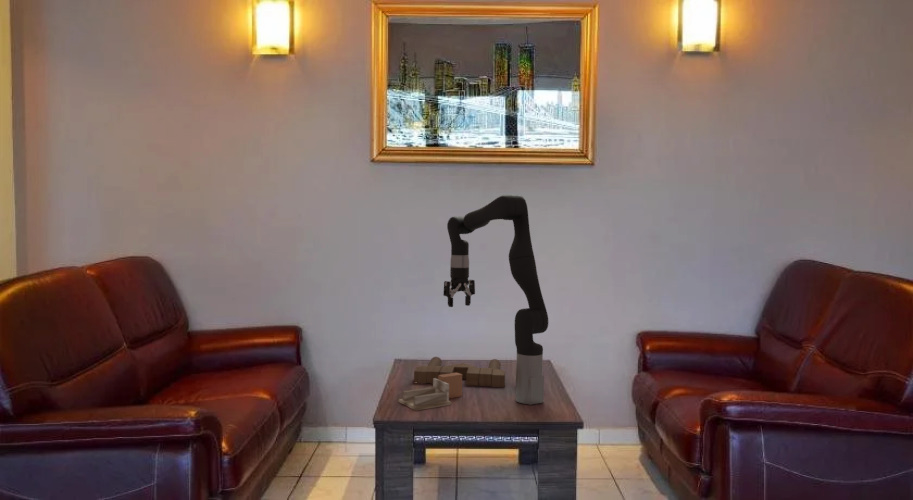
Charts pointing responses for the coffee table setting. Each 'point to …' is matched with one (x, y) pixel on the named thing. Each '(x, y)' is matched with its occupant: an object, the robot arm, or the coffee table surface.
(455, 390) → the rust book
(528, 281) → the robot arm
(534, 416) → the coffee table surface
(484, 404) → the coffee table surface
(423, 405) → the birch slot rack
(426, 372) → the brown segmented blocky figure
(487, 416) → the coffee table surface
